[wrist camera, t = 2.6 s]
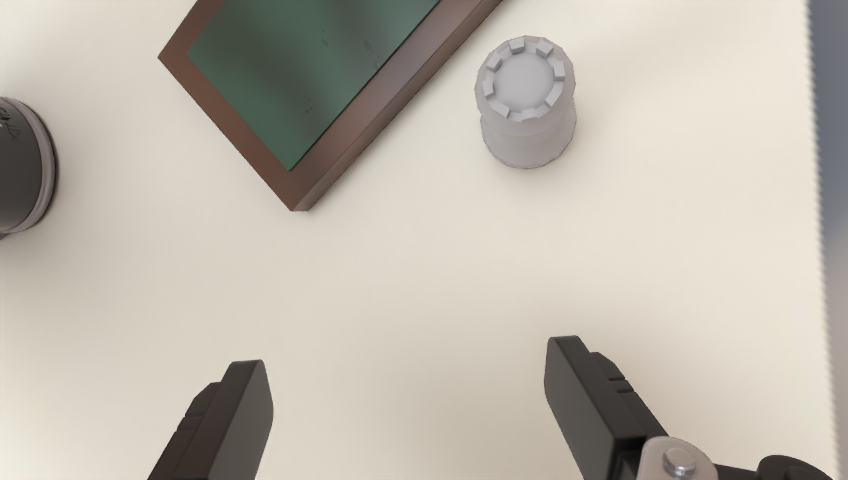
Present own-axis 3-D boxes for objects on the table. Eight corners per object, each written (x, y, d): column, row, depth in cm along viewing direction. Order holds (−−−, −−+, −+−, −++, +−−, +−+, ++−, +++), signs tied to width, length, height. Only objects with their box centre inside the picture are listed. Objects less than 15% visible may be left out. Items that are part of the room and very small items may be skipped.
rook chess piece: (464, 126, 22) (424, 84, 14) (529, 57, 21) (526, -29, 13) (525, 188, 21) (519, 180, 13) (595, 122, 20) (633, 71, 12)
